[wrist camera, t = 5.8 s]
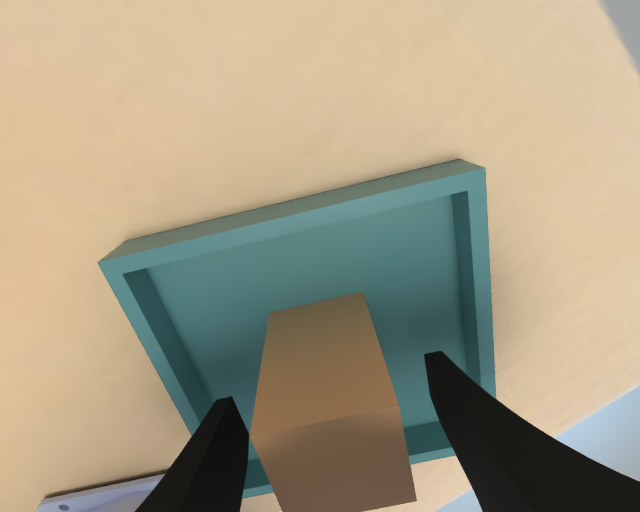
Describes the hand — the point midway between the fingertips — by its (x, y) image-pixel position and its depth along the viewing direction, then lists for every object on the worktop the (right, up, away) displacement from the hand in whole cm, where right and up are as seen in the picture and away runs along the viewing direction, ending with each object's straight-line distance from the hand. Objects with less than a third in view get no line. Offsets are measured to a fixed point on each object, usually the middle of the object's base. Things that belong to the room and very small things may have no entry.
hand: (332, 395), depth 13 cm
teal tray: (0, +1, +3) cm, 3 cm away
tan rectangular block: (0, +1, +3) cm, 3 cm away
